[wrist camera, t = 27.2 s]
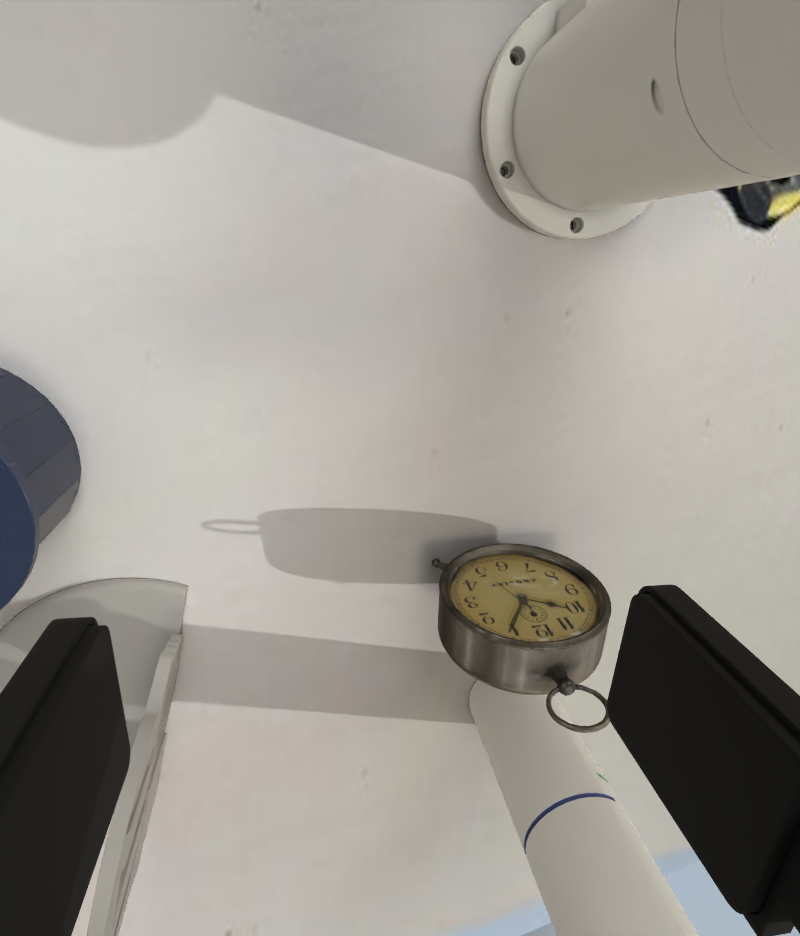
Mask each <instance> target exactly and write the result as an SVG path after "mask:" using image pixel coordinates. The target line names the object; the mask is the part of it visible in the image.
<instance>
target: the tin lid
mask: <svg viewBox="0 0 800 936" xmlns="http://www.w3.org/2000/svg"><path fill="white" fill-rule="evenodd" d="M39 537H40V525H39V518H38V511H37V507H36V504H35V500H34V497H33V494H32V492H31V490H30V487H29V485H28V483H27V481H26V479H25V477H24V475H23V474H22V472H21V470H20V469H19V467H18V466H17V464H16V462H15V461H14V460H13V459H12V457H11V456H10V455H9V454H8V453H7V451H6V450H5V449H4V448H3V446H2V445H1V444H0V610H1V609H2V608H3V607H4V606H5V605H7V604H8V603H9V602H10V601H11V599H12V598H13V597H14V596H15V595H16V593H17V592H18V591H19V590H20V589H21V587H22V586H23V585H24V583H25V581H26V580H27V578H28V576H29V575H30V573H31V571H32V568H33V566H34V563H35V561H36V557H37V552H38V548H39Z"/></svg>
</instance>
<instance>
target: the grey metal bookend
mask: <svg viewBox="0 0 800 936" xmlns="http://www.w3.org/2000/svg"><path fill="white" fill-rule="evenodd" d="M187 589H188V586H187V585H183V584H179V583H175V582H170V581H164V580H156V579H144V578H119V579H108V580H101V581H95V582H89V583H85V584H81V585H77V586H74V587H70V588H67V589H65V590H62V591H59V592H57V593H54V594H52V595H50V596H47V597H45V598H43V599H41V600H40V601H38V602H36V603H34V604H33V605H31V606H29V607H28V608H26V609H25V610H23V611H22V612H21V613H19V614H18V615H17V616H16V617H14V618H13V619H12V620H11V621H10V622H9V623H8V624H7V625H5V627H4V628H3V629H2V630H1V631H0V693H1V692H2V691H3V689H4V688H5V686H6V685H7V683H8V682H9V680H10V679H11V678H12V676H13V675H14V673H15V672H16V670H17V669H18V667H19V666H20V665H21V663H22V662H23V660H24V659H25V657H26V656H27V655H28V653H29V652H30V650H31V649H32V647H33V646H34V644H35V643H36V642H37V640H38V639H39V637H40V636H41V634H42V633H43V632H44V630H45V629H46V627H47V626H48V624H49V623H50V622H51V621H52V620H54V619H60V618H78V617H94V618H95V619H96V621H97V623H98V625H106V626H108V628H109V631H110V635H111V641H112V647H113V652H114V658H115V663H116V669H117V675H118V680H119V686H120V692H121V697H122V703H123V708H124V714H125V720H126V725H127V731H128V736H129V742H130V750H131V751H130V763H129V768H128V772H127V775H126V778H125V781H124V784H123V787H122V790H121V792H120V795H119V798H118V801H117V804H116V807H115V810H114V814H113V818H112V822H111V826H110V830H109V834H108V838H107V842H106V846H105V850H104V854H103V858H102V863H101V867H100V871H99V876H98V880H97V885H96V890H95V895H94V900H93V904H92V909H91V914H90V920H89V925H88V931H87V936H118V935H119V931H120V927H121V924H122V920H123V916H124V912H125V908H126V904H127V900H128V896H129V893H130V890H131V887H132V884H133V880H134V878H135V875H136V872H137V869H138V865H139V861H140V856H141V851H142V847H143V842H144V839H145V836H146V832H147V827H148V823H149V820H150V815H151V811H152V806H153V802H154V798H155V794H156V790H157V786H158V782H159V777H160V770H161V763H162V757H163V752H164V746H165V741H166V735H167V733H164V729H165V725H166V722H167V718H168V714H169V710H170V706H171V702H172V697H173V693H174V688H175V682H176V675H177V669H178V663H179V658H180V652H181V647H182V642H183V635H180V631H181V625H182V619H183V613H184V607H185V601H186V595H187Z"/></svg>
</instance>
